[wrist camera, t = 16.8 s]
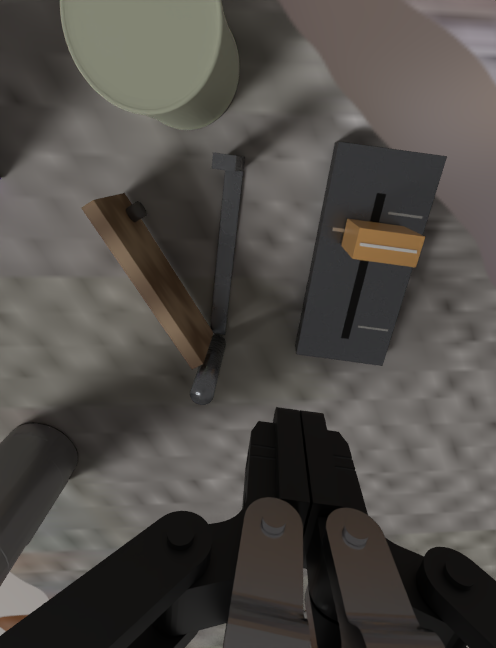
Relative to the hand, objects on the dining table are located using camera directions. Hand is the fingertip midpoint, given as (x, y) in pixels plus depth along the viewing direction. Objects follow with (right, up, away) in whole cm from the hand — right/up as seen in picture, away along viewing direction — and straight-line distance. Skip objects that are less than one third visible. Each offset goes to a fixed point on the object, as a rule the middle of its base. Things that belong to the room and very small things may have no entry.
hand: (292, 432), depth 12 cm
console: (+9, +10, +25) cm, 28 cm away
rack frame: (-4, +10, +26) cm, 28 cm away
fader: (+10, +11, +21) cm, 26 cm away
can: (-7, +25, +19) cm, 32 cm away
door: (-9, +9, +25) cm, 28 cm away
